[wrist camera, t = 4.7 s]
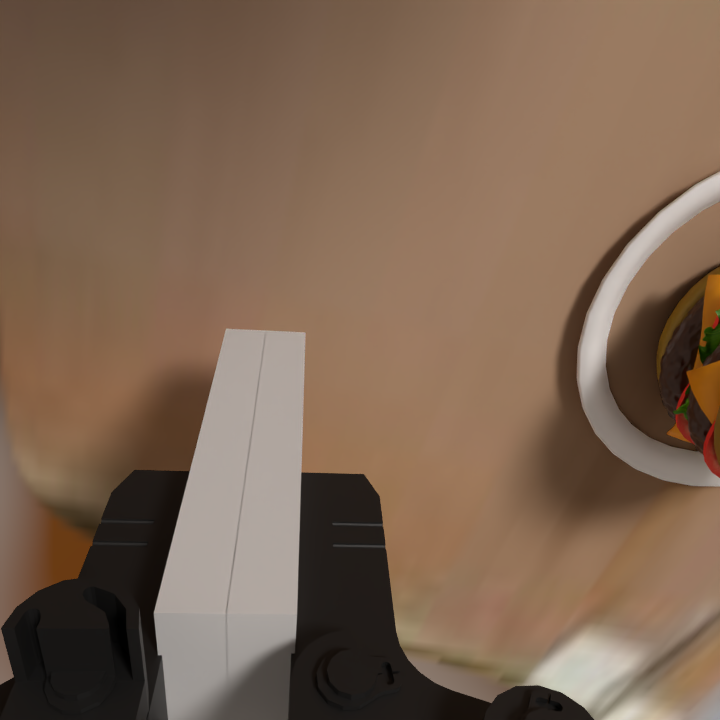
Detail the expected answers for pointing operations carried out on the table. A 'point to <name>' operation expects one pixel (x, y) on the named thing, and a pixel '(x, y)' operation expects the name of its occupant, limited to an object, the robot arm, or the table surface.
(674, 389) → the hamburger
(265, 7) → the table surface
